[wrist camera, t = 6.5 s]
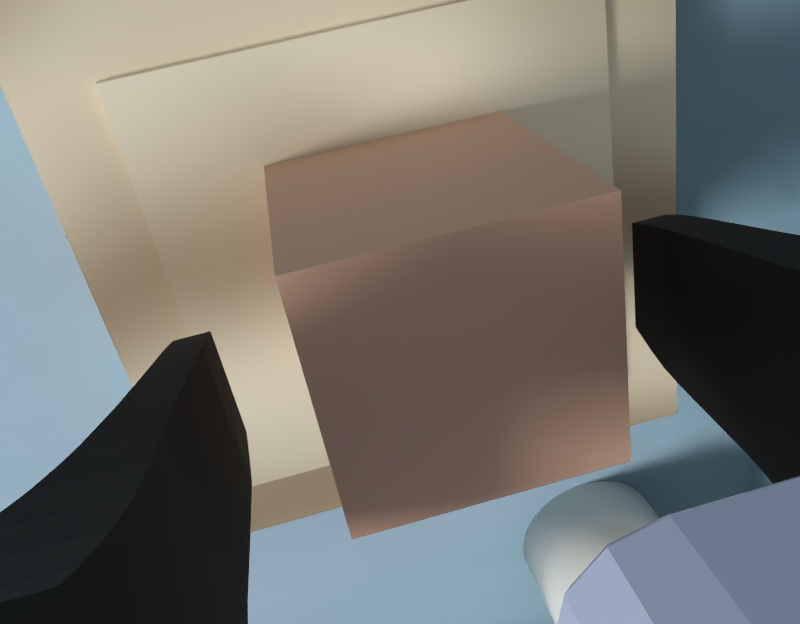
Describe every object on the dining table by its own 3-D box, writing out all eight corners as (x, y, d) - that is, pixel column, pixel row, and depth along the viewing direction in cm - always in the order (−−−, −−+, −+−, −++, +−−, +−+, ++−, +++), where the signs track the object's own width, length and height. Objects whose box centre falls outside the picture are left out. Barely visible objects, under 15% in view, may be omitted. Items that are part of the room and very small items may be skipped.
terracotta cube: (523, 317, 16) (631, 460, 11) (320, 369, 15) (351, 539, 11) (499, 110, 14) (621, 190, 9) (263, 165, 13) (274, 275, 9)
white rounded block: (651, 561, 23) (724, 673, 19) (530, 598, 23) (583, 718, 19) (648, 464, 21) (730, 569, 18) (516, 503, 21) (572, 617, 17)
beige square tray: (647, 381, 20) (681, 418, 18) (204, 503, 19) (201, 553, 17) (634, -136, 14) (682, -145, 12) (-6, 0, 13) (-40, 7, 11)
